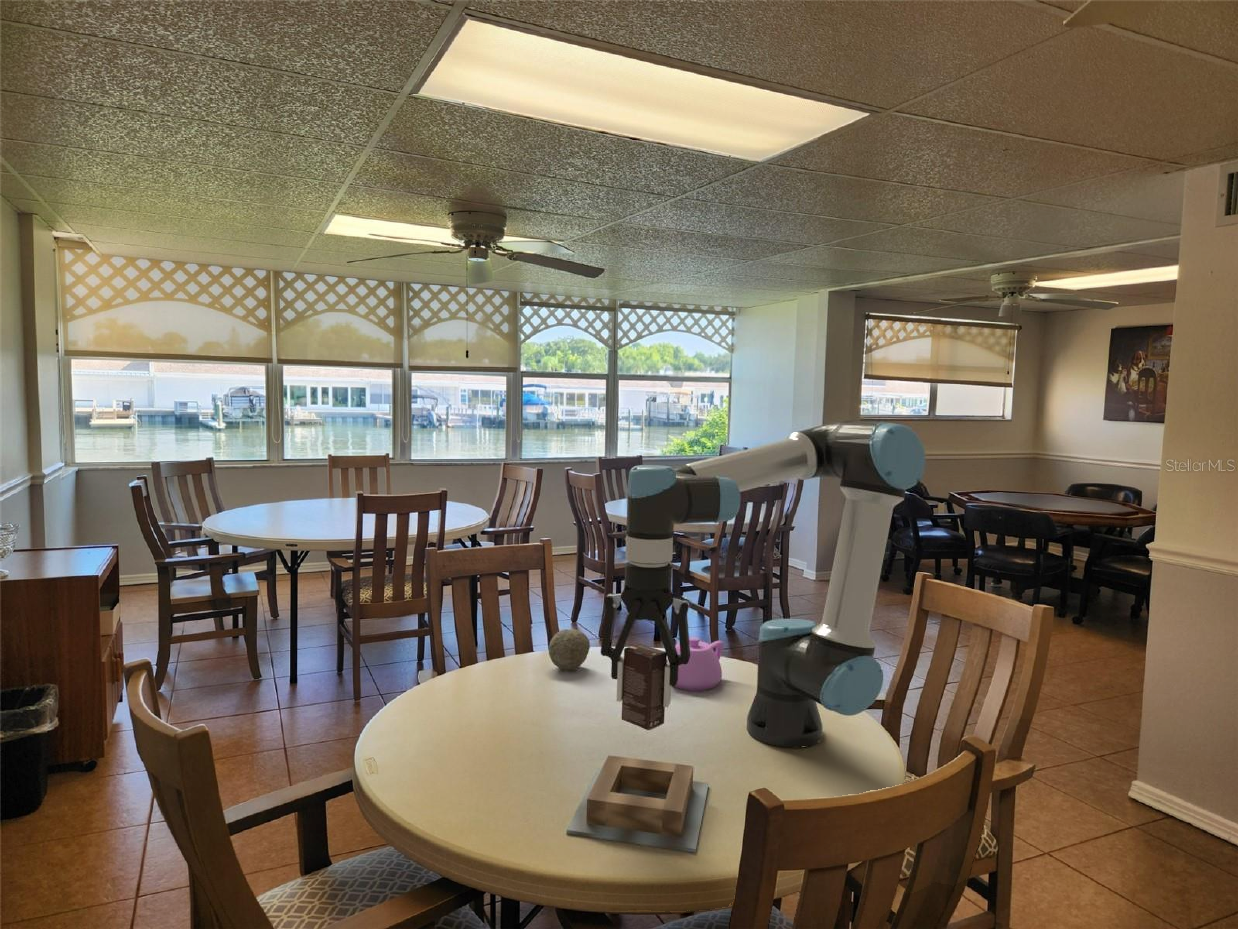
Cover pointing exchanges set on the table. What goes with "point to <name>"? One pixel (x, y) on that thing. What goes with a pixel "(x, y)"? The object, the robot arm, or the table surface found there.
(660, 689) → the box
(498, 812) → the table surface
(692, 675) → the teapot
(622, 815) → the socket
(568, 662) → the decorative stone
